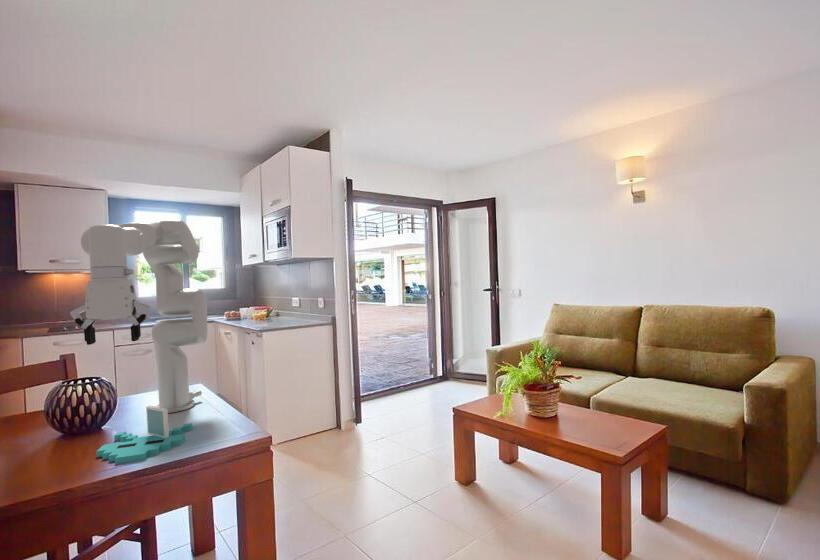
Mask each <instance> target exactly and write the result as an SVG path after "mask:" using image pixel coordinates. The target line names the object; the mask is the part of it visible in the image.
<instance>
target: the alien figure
mask: <svg viewBox="0 0 820 560" xmlns="http://www.w3.org/2000/svg"><path fill="white" fill-rule="evenodd" d="M192 430H193V422H191V423H183V425H182V426H178V427H173V428H172V429H171V430H169V437H167V438H163V437H159V436H154V435H145V436H140V437H139V436H138V434H135V435H133V433H132V432H130V433H127V431H120V432H117V433H115V434H114V436H113V437H114V441H119V442H113V443H107V444H106V443H105V444H103V445H102V446H101V447H99V448H98V449H97V450H96V458H101V457H102V460H107V459H108V462H114V463H115V465H118V464H125V463H132V462H133V463H134V462H139V461H145V460H146V459H147V458H148V457H151V456H157V455H159V454H160V453H161V452H164V451H166V452H167V451H170V450H171V449H172V447H179V446H182V445H183V444H184V442H185V440H186V434H185V432H191V431H192Z"/></svg>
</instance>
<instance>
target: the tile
mask: <svg viewBox="0 0 820 560" xmlns="http://www.w3.org/2000/svg"><path fill="white" fill-rule="evenodd" d="M145 408H146V422H147V423H146V424H147V425H146V426H147V427H146V428H147V435H148V436H153V435H154V436H159V437H163V438H167V437H169V431H170V429H169V413H168V410H167V408H161V407H156V406H155V405H154V406H153V405H147V406H146V407H145Z"/></svg>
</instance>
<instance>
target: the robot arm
mask: <svg viewBox="0 0 820 560" xmlns="http://www.w3.org/2000/svg"><path fill="white" fill-rule="evenodd" d="M192 233H193V232H192V231H191V230H190V228H189V226H188V225H187V224H186V222H184V221H183V220H182V219H177V218H171V219H170V218H165V219H162V218H161V219H157V218H156V219H146V220H142V221H136V222H135V221H134V222H127V223H121V224H96V225H91V226H89V228H88V229H86V230H85V231H84V232H83V233H82V235H81V238H80V245H81V248H82V251H84V253H86V254H87V255H88V256H89V265H90V266H89V267H90V268H89V269H90V270H89V271H90V280H87V281H88V282H87V284H86V285H87V286H86V289H85V290H86V292H85V301H84V304H83V305H81V306H79V307H77V308H75V309H73V310H71V311H70V312H69V314H70V316H71V318H72V319H73V320H74V323H76V324H77V325H78V326H79V327H80V328H81V329H83V332H84V333H83V335H84V342H86V345H87V346H91V345H93V344H95V343H96V342H97V341H96V340H97V339H96V328H95V326H94V325H95V324H96V322H97V321H107V320H108V321H109V320H122V319H127V321H128V322H130V323H131V324H132V325H130V337H131V338H130V340H131V342H136V341H139V340H140V338H141V335H142V334H141V333H142V332H141V331H142V330H141V325H142V324H143V322H144V321H145V320H146V319H147V318H148V316H149V314H150V312H151V310H152V307H151V306H149V305H147V304H144V303H142V302H140V301H138V299H137V296H136V290H135V286H134V282H133V280H132V278H131V279H129V276H130V275H134V274H135V271H134V269H133V268H132V269H131V268H129V266H128V262H127V261H128V260H127V259H128V258H127V257H129V256H130V257H131V256H132V257H133V256H139V255H141V254H142V255H143V258H144V259H145V261H146V262H147V265H148V266H149V267H150V268H151V270H152V271H153V274H154V276H155V277H154V278H155V289H156V290H155V291H156V292H155V294H156V296H155V297H156V300H155V301H156V311H157V312H158V314H159V315H161V316H163V317H178V316H179V317H180V316H191V318H184V319H183V318H178V319H165V320H161V321H158V322H156V323H155V324H154V325H153V326H152V329H151V337H152V338H151V339H152V341H153V345H154V350H155V351H154V352H155V357H156V369H157V370H156V371H157V372H156V373H157V374H156V375H157V390H158V405H156V406H155V407H161V408H167V410H168V414H172V413H177V412H182V411H186V410H188V409H190V408H192V407H193V406H195V400H194V398H197V397H200V396H202V394H203V392H202V391H201V390H196V391H190V384H189V383H190V380H189V370H188V369H189V368H188V367H189V366H188V356H187V354H186V353H185V352H184V350H183V349H182V348H181V347H184V346H196V345H202V344H204V343H205V342H206V341H207V339H208V331H209V330H208V305H207V297H206V294H205V292H204V291H203V290H202V289H200V288H184V276H183V273H182V272H181V271H180V269H178V267H176V266H175V264H192V263H196V261H197V260H198V257H199V253H200V252H199V247H198V245H197V241H196V240H195V237H194V236H193V234H192ZM138 309H140V310H141V311H142V312H141V314H140V315H139V316H138V313H139V312H138ZM84 312H85V318H86V319H85V318H83V317H82V315H81V314H82V313H84ZM93 326H94V327H93Z"/></svg>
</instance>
